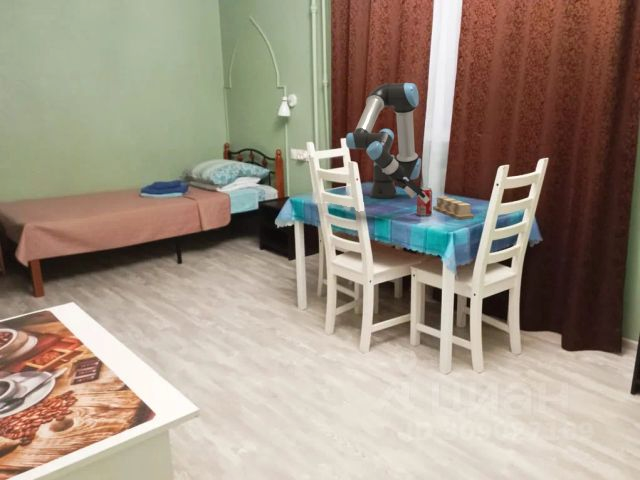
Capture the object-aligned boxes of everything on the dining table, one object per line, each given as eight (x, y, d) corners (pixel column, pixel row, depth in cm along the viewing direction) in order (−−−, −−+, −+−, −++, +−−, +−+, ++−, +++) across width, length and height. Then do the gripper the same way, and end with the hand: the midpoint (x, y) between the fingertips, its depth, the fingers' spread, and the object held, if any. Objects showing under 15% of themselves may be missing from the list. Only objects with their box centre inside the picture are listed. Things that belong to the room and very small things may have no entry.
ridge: (432, 209, 262) (433, 196, 260) (446, 208, 264) (447, 195, 262) (459, 219, 240) (459, 206, 238) (473, 218, 242) (474, 204, 240)
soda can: (431, 216, 246) (432, 190, 243) (416, 216, 248) (417, 189, 244) (431, 213, 253) (432, 187, 250) (416, 213, 254) (417, 187, 251)
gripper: (376, 171, 250) (403, 199, 258) (399, 179, 227) (428, 209, 235) (386, 160, 250) (413, 188, 258) (410, 166, 227) (439, 197, 235)
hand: (420, 198), depth 247 cm, fingers open, 13 cm apart
